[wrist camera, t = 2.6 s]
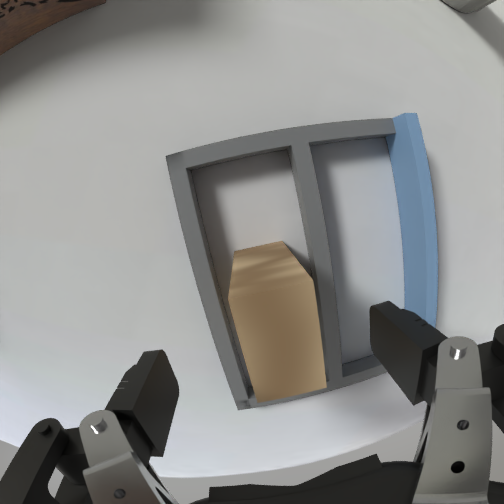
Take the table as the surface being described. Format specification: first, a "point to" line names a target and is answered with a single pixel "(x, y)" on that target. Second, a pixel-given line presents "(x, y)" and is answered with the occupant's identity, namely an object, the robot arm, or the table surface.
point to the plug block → (276, 322)
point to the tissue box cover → (35, 17)
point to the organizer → (317, 235)
